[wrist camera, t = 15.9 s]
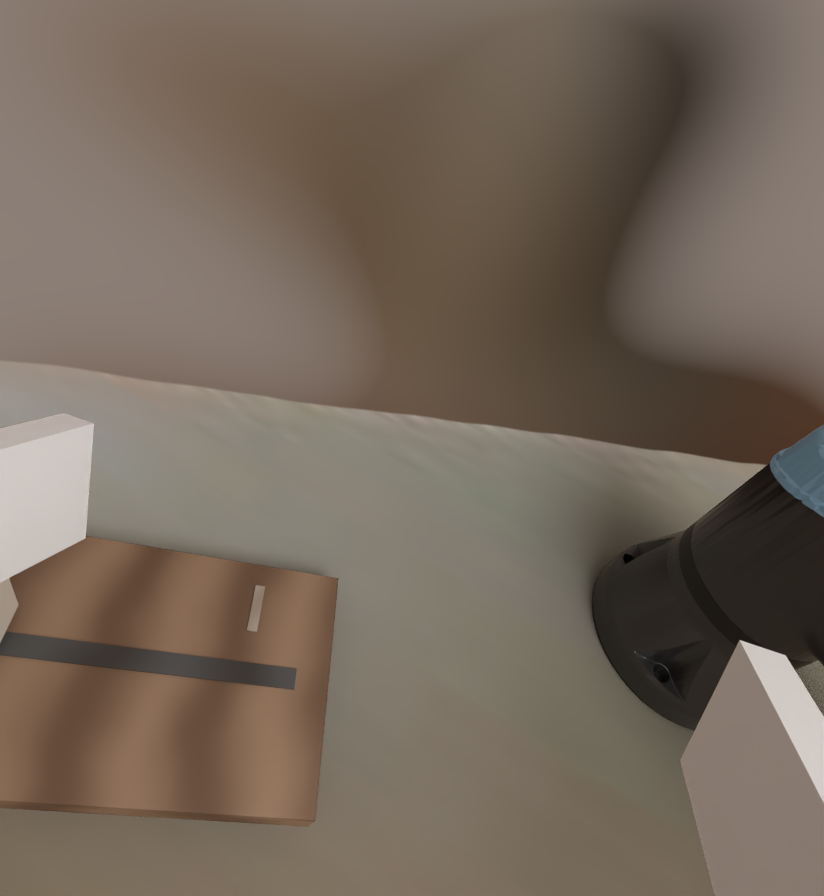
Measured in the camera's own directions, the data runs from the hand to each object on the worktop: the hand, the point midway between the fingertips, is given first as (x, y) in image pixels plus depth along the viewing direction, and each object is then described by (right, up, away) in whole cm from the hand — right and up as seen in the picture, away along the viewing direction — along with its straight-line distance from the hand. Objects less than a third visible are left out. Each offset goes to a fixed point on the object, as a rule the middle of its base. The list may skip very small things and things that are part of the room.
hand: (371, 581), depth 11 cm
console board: (-16, -10, +22) cm, 29 cm away
